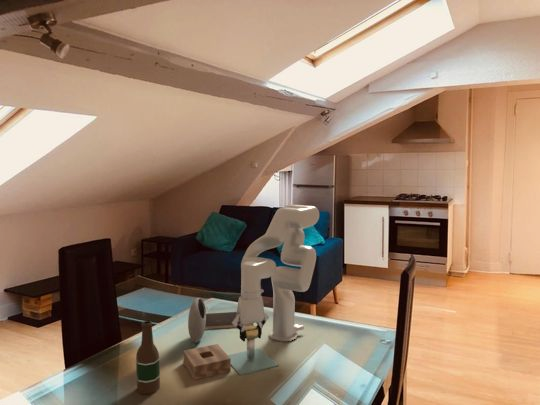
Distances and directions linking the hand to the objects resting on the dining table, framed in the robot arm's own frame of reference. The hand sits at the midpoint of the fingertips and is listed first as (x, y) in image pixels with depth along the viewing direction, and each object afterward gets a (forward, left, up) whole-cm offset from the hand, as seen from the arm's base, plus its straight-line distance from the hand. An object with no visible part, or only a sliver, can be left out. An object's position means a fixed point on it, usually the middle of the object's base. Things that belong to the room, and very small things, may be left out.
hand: (250, 338), depth 170 cm
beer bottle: (+40, +3, -10) cm, 41 cm away
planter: (+13, -27, -10) cm, 32 cm away
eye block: (+17, -3, -9) cm, 20 cm away
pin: (0, 0, -8) cm, 8 cm away
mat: (0, 0, -9) cm, 9 cm away
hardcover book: (-7, -42, -10) cm, 44 cm away
